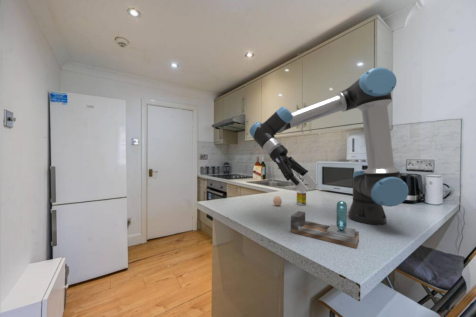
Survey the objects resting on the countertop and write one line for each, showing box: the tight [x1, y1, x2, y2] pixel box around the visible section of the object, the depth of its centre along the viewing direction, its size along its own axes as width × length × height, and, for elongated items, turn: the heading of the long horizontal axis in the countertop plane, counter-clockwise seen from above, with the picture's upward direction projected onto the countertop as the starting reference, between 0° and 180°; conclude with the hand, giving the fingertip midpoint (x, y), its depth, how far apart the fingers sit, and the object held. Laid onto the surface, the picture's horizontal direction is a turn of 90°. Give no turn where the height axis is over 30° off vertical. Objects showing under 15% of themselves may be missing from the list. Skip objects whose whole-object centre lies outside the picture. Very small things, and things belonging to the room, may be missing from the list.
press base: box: [290, 210, 360, 249], centre depth 73 cm, size 22×8×6 cm, turn 54°
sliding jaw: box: [327, 200, 356, 238], centre depth 69 cm, size 8×7×12 cm
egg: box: [272, 195, 283, 207], centre depth 117 cm, size 5×5×6 cm
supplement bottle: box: [296, 189, 307, 206], centre depth 120 cm, size 6×6×10 cm
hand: (310, 188), depth 75 cm, fingers open, 13 cm apart
